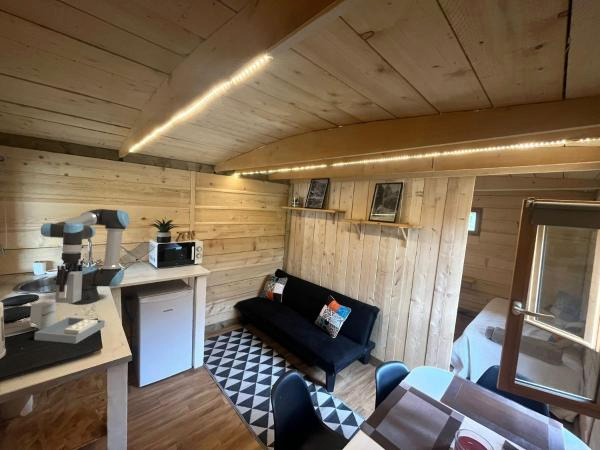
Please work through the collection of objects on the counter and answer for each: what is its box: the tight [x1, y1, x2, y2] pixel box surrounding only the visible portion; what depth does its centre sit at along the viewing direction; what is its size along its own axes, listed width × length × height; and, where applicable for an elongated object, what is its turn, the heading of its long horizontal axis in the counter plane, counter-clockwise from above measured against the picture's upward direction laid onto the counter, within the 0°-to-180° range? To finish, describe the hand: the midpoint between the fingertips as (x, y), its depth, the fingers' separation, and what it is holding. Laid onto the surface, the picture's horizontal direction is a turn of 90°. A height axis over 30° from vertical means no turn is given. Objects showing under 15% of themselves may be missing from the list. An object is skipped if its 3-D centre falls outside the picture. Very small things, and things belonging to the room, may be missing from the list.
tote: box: [33, 316, 105, 345], centre depth 130 cm, size 18×20×4 cm
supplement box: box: [29, 300, 58, 330], centre depth 136 cm, size 7×7×13 cm
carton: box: [64, 318, 99, 335], centre depth 130 cm, size 12×7×6 cm, turn 1°
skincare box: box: [54, 271, 82, 304], centre depth 131 cm, size 8×7×16 cm
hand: (68, 295), depth 131 cm, fingers closed on skincare box, 7 cm apart
